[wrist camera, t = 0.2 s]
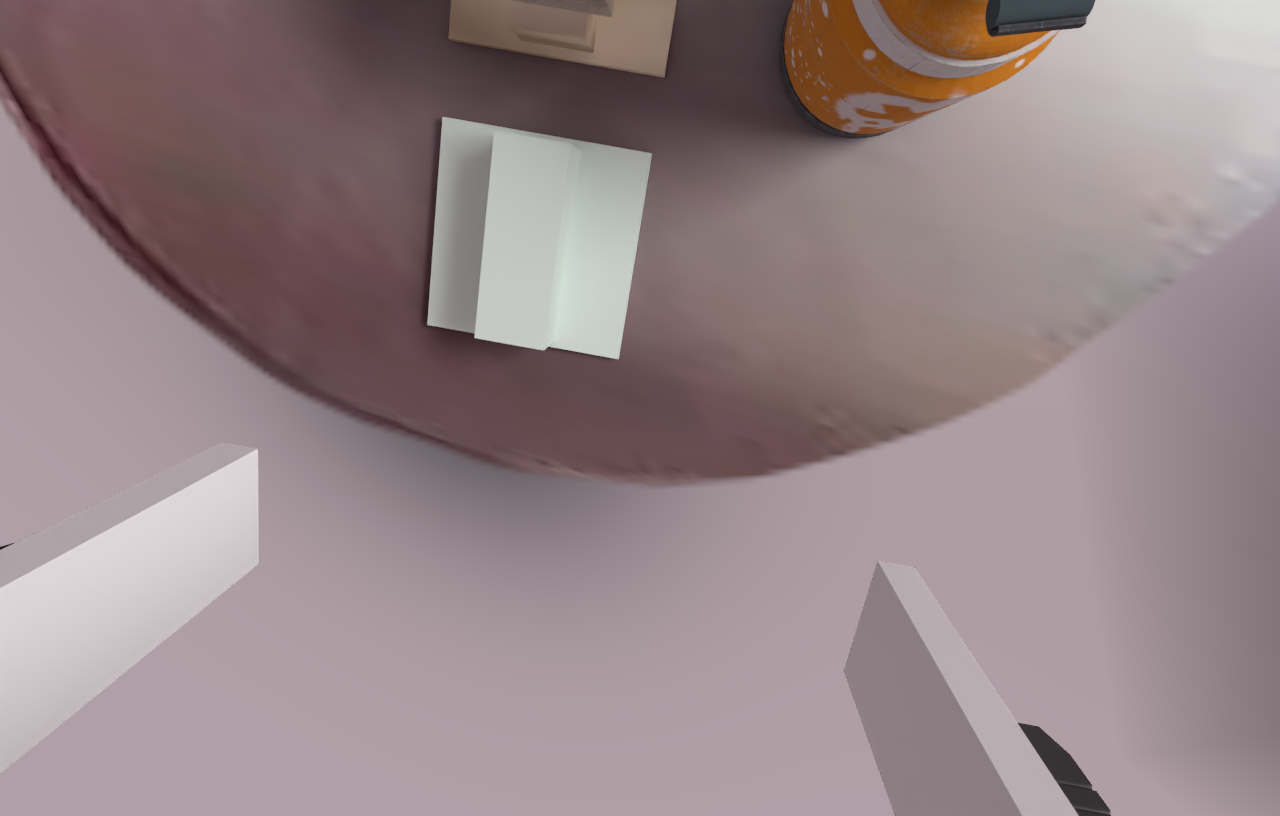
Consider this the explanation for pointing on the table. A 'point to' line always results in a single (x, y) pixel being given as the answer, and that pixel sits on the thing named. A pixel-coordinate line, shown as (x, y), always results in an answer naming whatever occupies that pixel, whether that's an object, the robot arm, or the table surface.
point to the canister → (908, 55)
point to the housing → (578, 5)
